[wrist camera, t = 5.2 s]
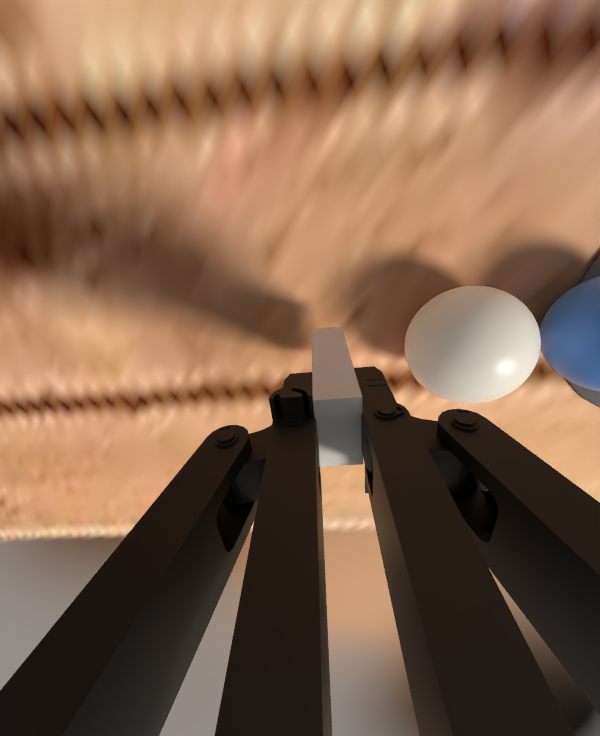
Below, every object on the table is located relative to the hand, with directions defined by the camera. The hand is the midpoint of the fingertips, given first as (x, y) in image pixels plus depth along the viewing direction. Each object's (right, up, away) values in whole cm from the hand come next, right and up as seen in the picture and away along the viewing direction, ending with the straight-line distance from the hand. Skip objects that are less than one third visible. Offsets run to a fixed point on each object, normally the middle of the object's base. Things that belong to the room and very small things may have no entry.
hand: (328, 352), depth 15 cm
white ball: (+6, 0, -1) cm, 7 cm away
